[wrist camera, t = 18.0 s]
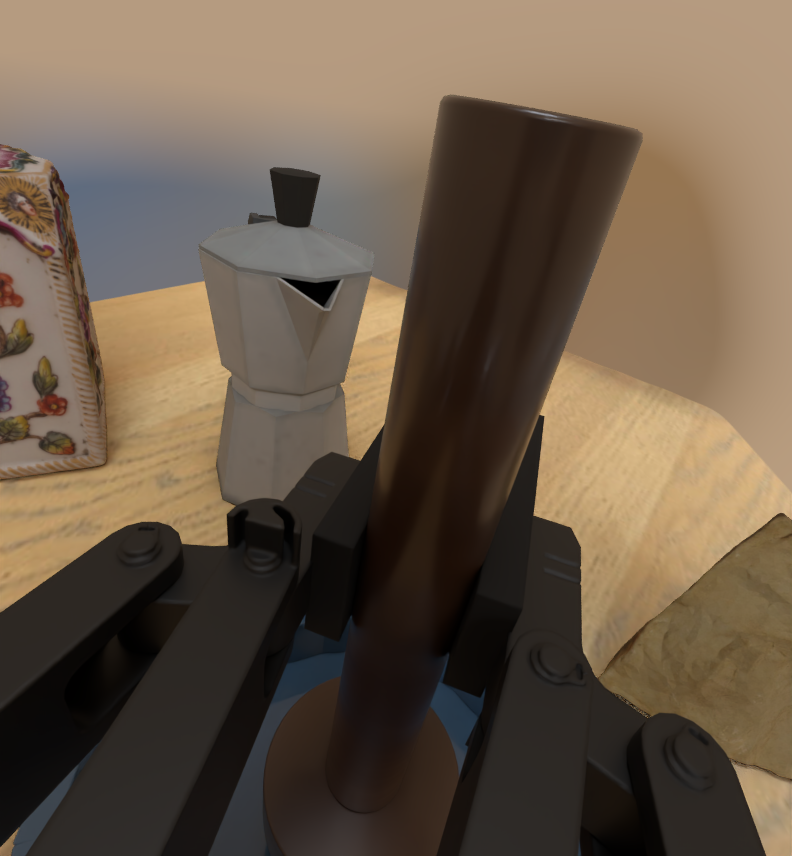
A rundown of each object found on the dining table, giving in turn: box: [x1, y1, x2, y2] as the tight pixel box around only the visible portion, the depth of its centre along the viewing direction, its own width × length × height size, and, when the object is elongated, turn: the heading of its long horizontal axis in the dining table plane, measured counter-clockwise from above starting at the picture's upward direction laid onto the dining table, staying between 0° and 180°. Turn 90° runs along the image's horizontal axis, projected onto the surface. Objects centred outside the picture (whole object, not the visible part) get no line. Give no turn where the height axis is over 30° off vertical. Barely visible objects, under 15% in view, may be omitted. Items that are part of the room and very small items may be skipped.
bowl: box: [11, 614, 581, 856], centre depth 15 cm, size 17×17×6 cm
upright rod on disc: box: [263, 95, 642, 856], centre depth 10 cm, size 6×6×18 cm
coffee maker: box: [199, 167, 374, 505], centre depth 28 cm, size 15×9×18 cm, turn 23°
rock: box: [598, 513, 792, 780], centre depth 21 cm, size 11×9×10 cm
